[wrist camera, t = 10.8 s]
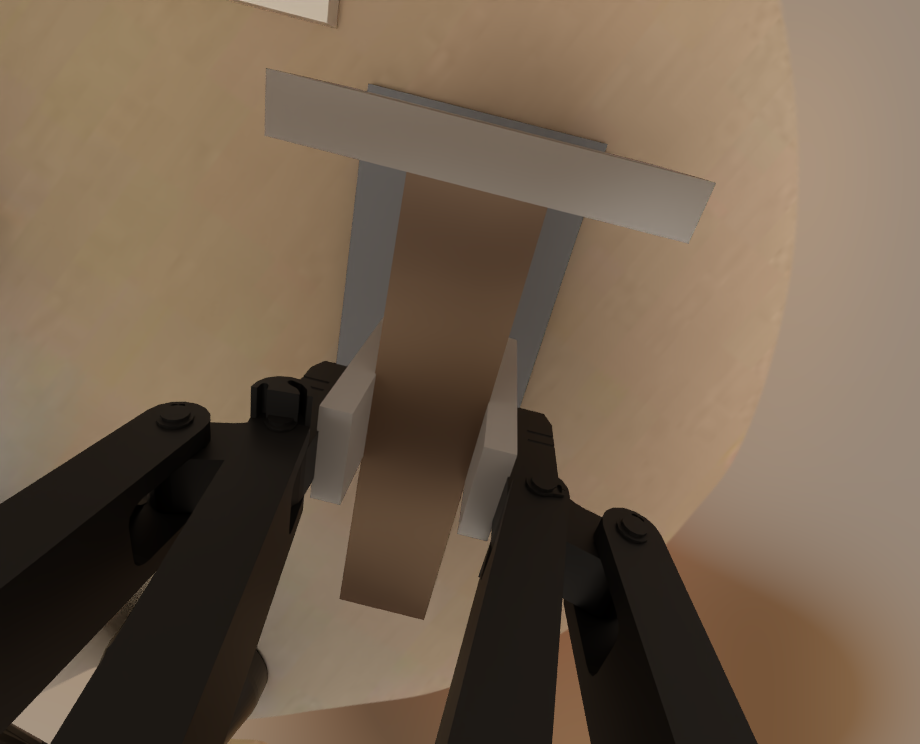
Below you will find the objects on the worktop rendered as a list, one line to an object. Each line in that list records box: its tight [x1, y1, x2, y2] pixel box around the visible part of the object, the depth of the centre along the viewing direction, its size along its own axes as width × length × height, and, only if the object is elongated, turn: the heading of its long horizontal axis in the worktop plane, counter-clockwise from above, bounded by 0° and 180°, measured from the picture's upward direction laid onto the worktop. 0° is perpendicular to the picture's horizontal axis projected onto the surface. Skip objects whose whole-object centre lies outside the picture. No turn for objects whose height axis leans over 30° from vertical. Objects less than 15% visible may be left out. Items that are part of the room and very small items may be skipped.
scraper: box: [265, 68, 716, 620], centre depth 15 cm, size 15×9×5 cm, turn 167°
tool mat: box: [336, 84, 608, 408], centre depth 27 cm, size 18×12×1 cm, turn 168°
